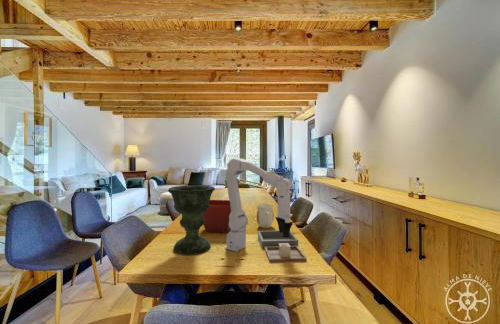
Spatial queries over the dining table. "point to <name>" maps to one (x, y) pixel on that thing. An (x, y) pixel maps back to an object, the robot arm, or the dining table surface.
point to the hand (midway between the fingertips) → (283, 234)
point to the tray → (275, 257)
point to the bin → (275, 238)
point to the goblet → (191, 216)
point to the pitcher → (265, 215)
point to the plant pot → (217, 216)
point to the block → (284, 249)
